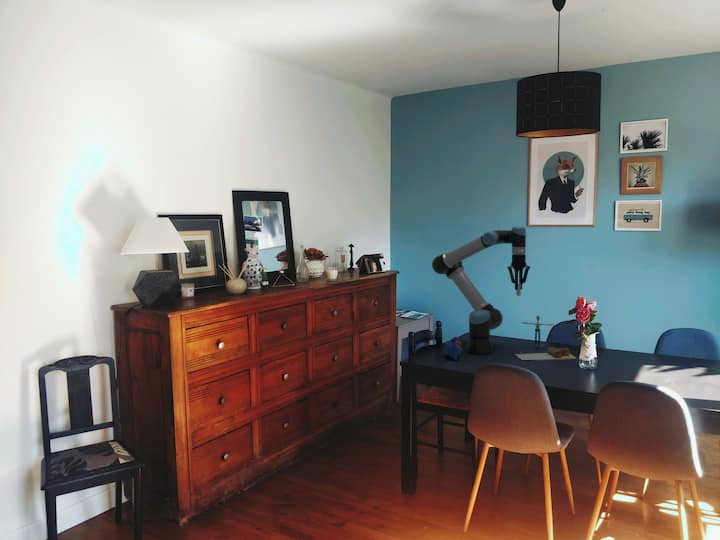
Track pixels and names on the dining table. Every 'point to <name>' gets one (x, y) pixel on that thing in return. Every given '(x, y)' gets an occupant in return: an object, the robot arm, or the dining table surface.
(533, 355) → the mat
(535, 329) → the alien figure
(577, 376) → the dining table surface
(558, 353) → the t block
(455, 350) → the toy
